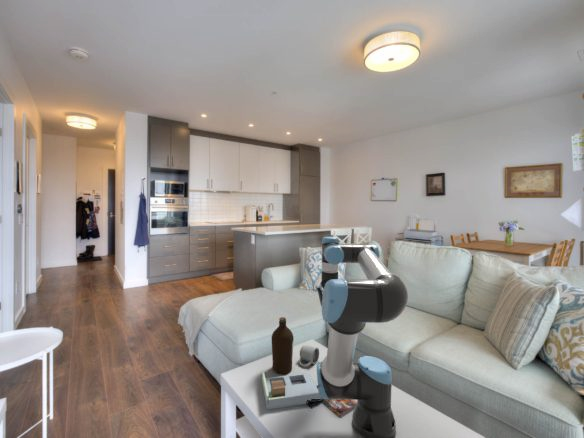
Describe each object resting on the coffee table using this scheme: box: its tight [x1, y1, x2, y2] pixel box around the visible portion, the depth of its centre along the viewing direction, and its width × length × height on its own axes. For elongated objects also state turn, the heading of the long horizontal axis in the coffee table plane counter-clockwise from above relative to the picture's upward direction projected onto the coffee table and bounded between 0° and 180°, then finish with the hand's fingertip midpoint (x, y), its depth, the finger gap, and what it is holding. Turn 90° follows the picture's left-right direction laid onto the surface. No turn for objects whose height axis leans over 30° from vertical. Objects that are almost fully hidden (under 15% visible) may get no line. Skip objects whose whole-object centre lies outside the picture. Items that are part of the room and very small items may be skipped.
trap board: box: [261, 371, 322, 411], centre depth 120 cm, size 16×22×6 cm
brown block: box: [271, 380, 285, 398], centre depth 115 cm, size 5×5×4 cm
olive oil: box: [271, 316, 294, 375], centre depth 137 cm, size 11×11×25 cm
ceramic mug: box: [298, 344, 320, 368], centre depth 143 cm, size 11×8×8 cm
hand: (329, 322), depth 129 cm, fingers closed
